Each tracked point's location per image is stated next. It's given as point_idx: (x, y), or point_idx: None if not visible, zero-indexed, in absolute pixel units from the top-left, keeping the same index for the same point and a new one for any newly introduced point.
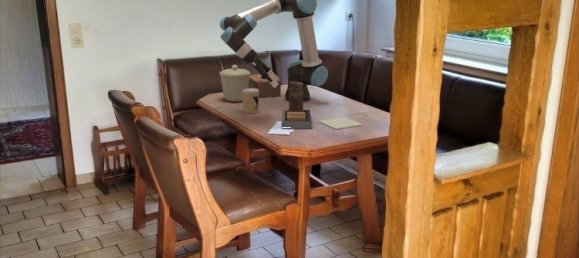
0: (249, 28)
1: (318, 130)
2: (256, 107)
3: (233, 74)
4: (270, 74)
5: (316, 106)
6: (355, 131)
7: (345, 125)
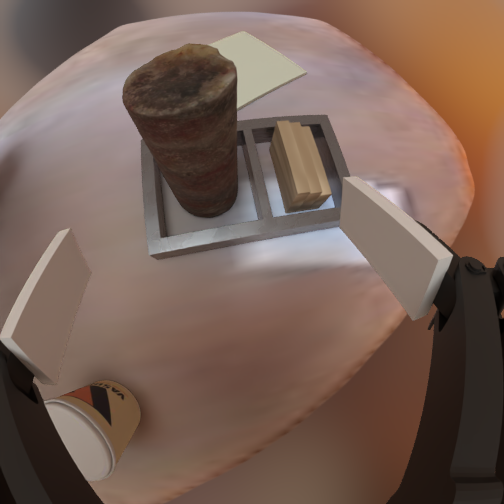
0: None
1: (328, 111)
2: (114, 390)
3: None
4: (49, 330)
5: (30, 170)
6: (303, 45)
7: (266, 54)
